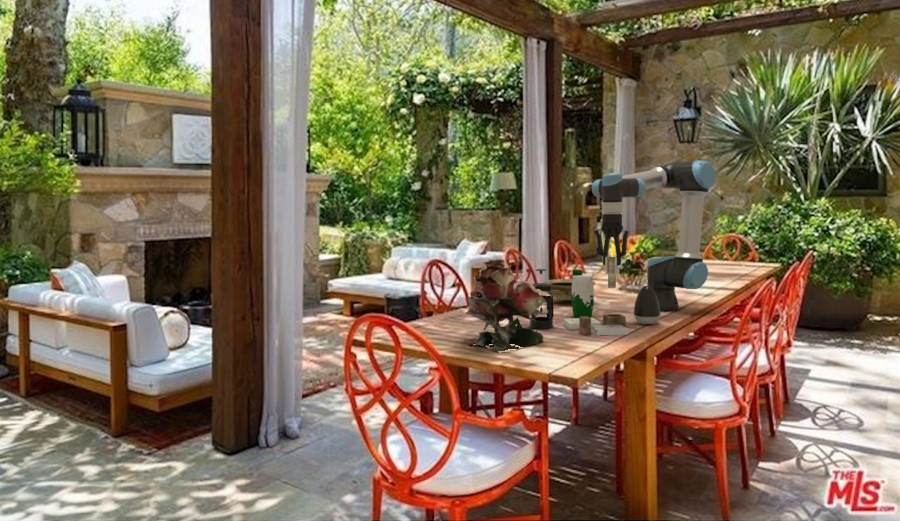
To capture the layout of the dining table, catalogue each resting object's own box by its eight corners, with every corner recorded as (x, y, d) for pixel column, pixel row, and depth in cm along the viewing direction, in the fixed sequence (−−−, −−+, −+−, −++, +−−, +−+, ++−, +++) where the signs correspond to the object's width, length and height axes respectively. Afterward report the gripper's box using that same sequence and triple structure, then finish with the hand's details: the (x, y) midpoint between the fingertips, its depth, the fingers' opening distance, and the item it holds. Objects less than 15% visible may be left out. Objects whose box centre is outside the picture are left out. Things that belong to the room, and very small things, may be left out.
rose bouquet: (553, 339, 249) (552, 256, 246) (504, 355, 227) (503, 264, 224) (497, 331, 266) (495, 253, 263) (446, 344, 244) (444, 260, 241)
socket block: (619, 323, 274) (619, 313, 274) (625, 327, 267) (625, 316, 267) (602, 324, 274) (602, 314, 273) (608, 327, 267) (608, 317, 266)
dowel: (609, 286, 271) (609, 256, 270) (616, 287, 269) (617, 256, 268) (606, 287, 268) (607, 257, 267) (614, 288, 267) (614, 257, 265)
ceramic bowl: (573, 309, 308) (573, 287, 307) (530, 304, 324) (530, 283, 323) (608, 300, 329) (608, 280, 328) (566, 296, 346) (566, 276, 345)
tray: (592, 323, 275) (593, 317, 275) (600, 328, 265) (600, 322, 265) (563, 325, 274) (563, 318, 274) (569, 330, 264) (569, 323, 264)
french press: (541, 330, 264) (540, 271, 261) (523, 327, 271) (522, 269, 268) (561, 326, 271) (560, 268, 269) (543, 323, 279) (542, 266, 276)
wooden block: (587, 331, 260) (587, 316, 259) (590, 334, 255) (590, 318, 254) (579, 332, 260) (579, 316, 259) (583, 334, 255) (583, 319, 254)
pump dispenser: (660, 321, 277) (661, 284, 275) (659, 326, 267) (660, 287, 265) (634, 320, 280) (634, 283, 278) (632, 325, 270) (632, 287, 269)
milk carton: (572, 315, 295) (571, 268, 293) (593, 315, 293) (593, 268, 291) (571, 318, 286) (571, 271, 284) (593, 319, 284) (593, 271, 282)
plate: (620, 331, 263) (620, 324, 262) (628, 336, 254) (628, 329, 253) (590, 332, 262) (590, 325, 261) (596, 337, 253) (596, 330, 253)
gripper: (635, 213, 265) (635, 273, 267) (595, 213, 273) (595, 271, 275) (630, 213, 258) (629, 275, 261) (589, 213, 267) (588, 273, 269)
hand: (611, 273), depth 268 cm, fingers closed on dowel, 3 cm apart
